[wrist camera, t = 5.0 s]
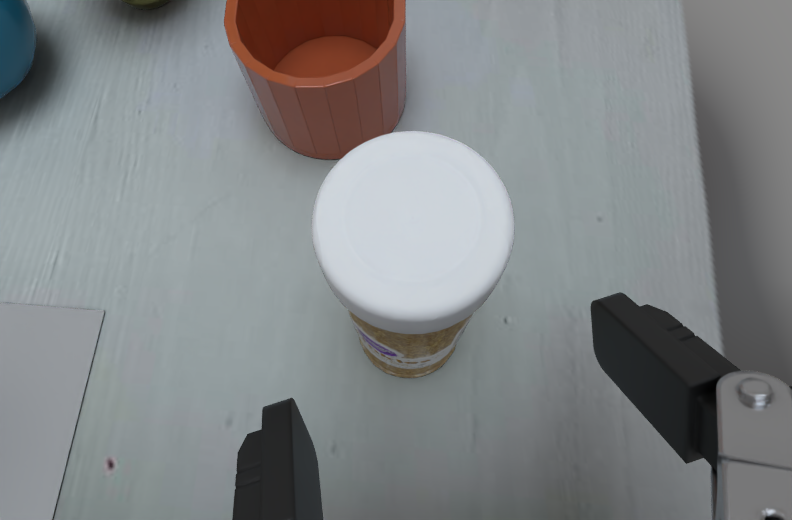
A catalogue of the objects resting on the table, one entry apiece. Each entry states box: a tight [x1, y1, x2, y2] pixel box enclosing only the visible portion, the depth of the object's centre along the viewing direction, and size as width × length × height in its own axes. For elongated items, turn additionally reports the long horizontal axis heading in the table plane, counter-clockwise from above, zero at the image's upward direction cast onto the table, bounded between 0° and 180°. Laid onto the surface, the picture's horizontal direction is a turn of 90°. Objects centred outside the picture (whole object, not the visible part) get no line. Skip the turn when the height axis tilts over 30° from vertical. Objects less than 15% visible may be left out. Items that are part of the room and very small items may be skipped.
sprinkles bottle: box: [312, 131, 515, 378], centre depth 18 cm, size 5×5×14 cm
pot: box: [224, 0, 406, 159], centre depth 25 cm, size 8×8×6 cm
